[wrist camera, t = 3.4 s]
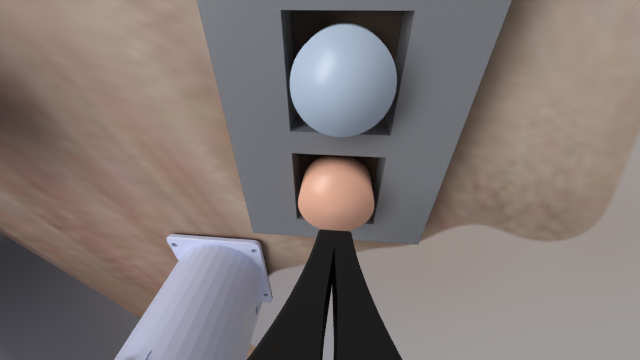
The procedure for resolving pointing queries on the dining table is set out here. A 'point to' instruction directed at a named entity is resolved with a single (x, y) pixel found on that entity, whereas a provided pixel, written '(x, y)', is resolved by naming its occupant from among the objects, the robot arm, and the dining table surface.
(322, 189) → the terracotta button
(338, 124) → the blue button
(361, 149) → the button panel
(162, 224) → the dining table surface
